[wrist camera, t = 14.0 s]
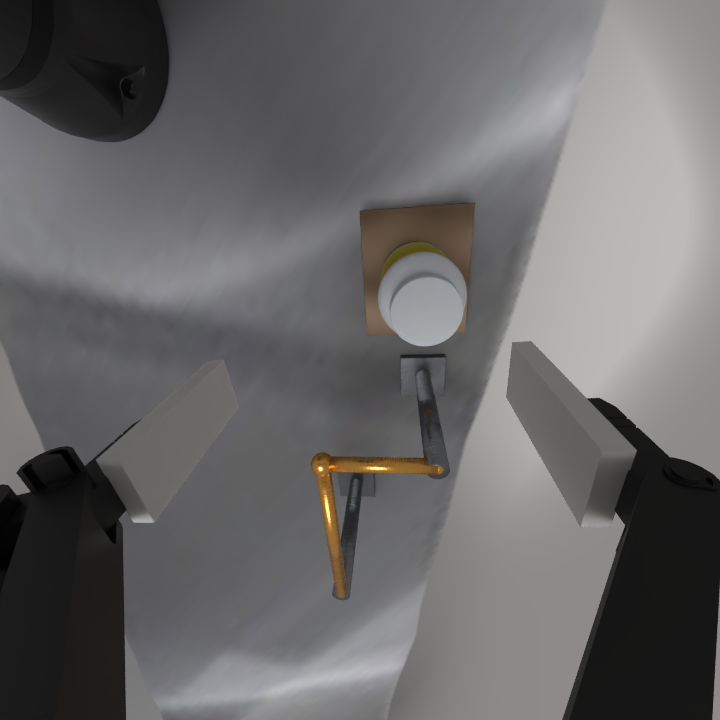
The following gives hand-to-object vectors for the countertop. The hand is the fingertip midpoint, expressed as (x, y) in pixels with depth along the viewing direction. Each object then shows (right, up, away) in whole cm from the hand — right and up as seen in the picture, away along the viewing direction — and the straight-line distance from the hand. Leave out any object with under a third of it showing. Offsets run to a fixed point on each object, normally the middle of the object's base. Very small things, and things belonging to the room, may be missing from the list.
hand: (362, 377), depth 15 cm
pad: (+5, +10, +18) cm, 22 cm away
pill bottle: (+5, +9, +16) cm, 19 cm away
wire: (+3, -9, +27) cm, 29 cm away
